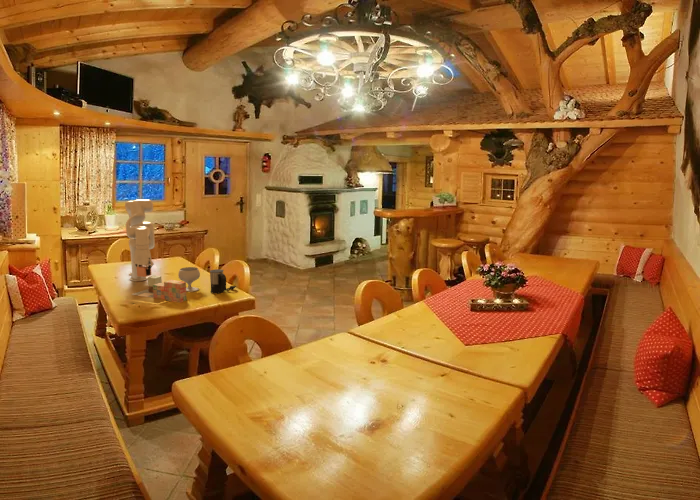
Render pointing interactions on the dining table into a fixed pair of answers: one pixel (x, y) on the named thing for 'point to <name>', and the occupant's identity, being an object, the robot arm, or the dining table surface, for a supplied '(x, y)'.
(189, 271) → the chalice
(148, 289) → the walnut block
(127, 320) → the dining table surface
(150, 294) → the board
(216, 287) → the milk frother
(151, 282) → the sage block
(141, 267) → the terracotta block
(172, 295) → the stack of blocks
